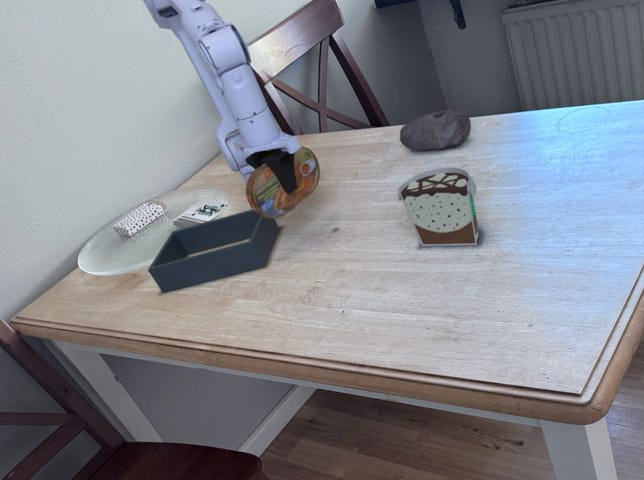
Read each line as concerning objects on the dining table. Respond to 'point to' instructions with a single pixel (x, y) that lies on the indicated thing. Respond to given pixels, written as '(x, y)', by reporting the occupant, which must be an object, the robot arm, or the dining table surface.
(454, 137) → the perforated stone tool
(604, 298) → the dining table surface
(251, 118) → the robot arm
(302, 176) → the tin
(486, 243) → the dining table surface
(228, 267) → the bin
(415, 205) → the food container
